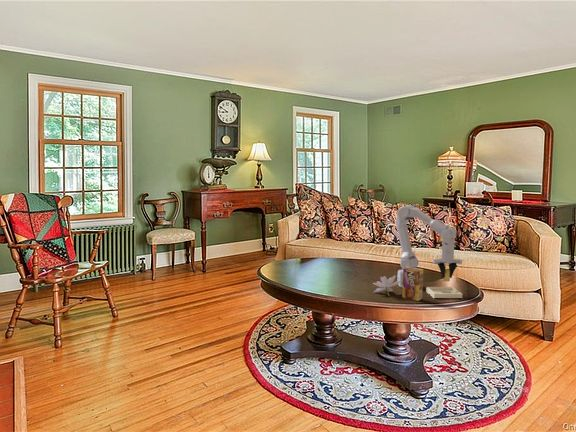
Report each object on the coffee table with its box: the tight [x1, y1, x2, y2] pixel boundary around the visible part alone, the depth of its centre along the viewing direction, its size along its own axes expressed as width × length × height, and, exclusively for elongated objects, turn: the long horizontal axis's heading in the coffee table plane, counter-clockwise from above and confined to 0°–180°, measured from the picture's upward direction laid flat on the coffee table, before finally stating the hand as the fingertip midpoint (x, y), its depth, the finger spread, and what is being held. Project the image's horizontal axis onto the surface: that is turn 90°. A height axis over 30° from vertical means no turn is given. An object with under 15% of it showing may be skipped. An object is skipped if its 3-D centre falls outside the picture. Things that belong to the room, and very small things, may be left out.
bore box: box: [425, 286, 463, 299], centre depth 216 cm, size 14×12×2 cm
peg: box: [442, 268, 451, 282], centre depth 218 cm, size 3×3×6 cm
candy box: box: [401, 267, 424, 302], centre depth 209 cm, size 9×4×15 cm, turn 47°
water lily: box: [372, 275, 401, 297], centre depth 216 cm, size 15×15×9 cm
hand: (446, 277), depth 218 cm, fingers closed on peg, 3 cm apart
